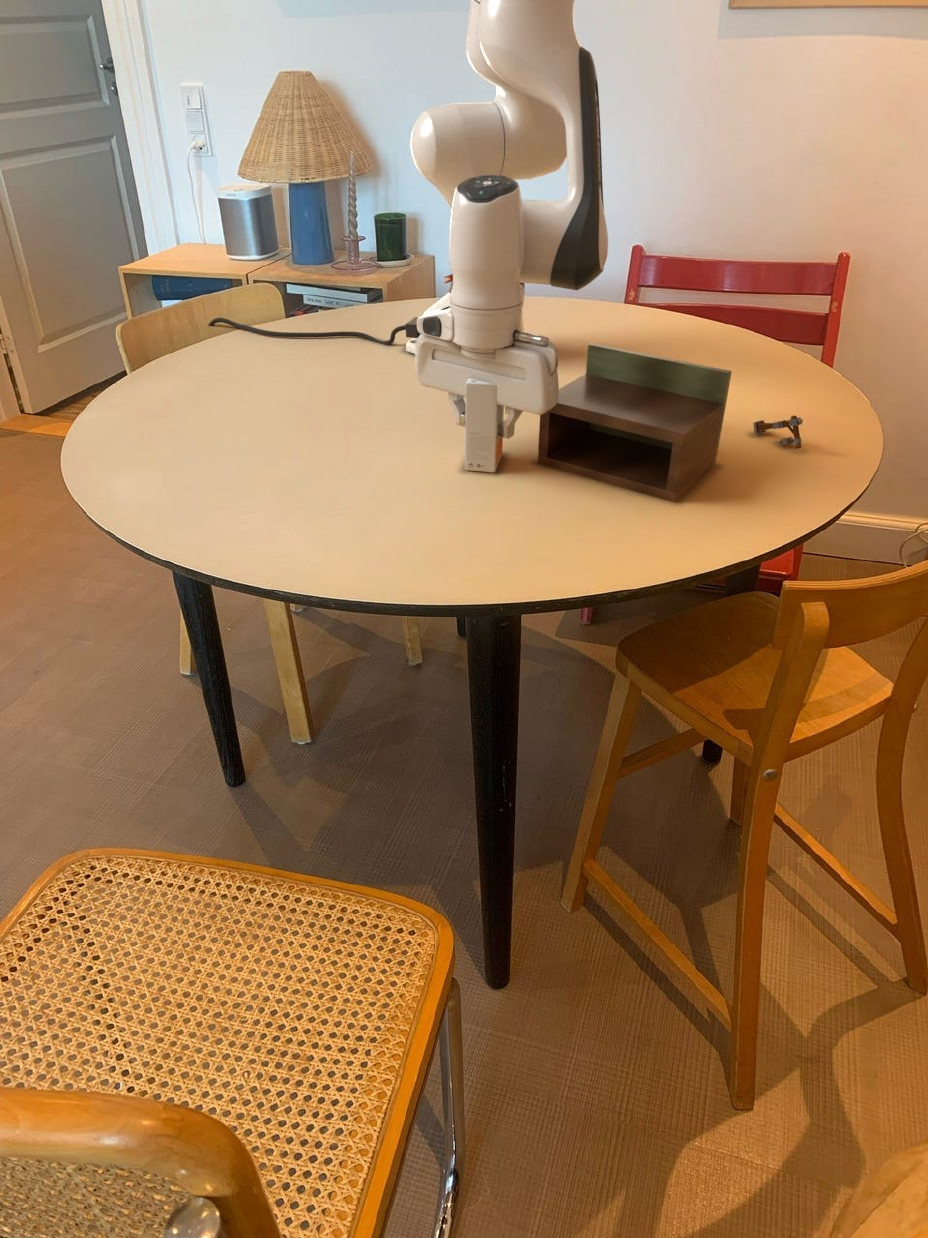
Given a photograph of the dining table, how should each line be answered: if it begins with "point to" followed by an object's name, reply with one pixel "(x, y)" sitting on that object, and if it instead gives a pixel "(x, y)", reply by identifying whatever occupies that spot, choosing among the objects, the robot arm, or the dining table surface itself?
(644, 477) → the shelf
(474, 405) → the cosmetic box
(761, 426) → the wooden post with brackets
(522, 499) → the dining table surface
